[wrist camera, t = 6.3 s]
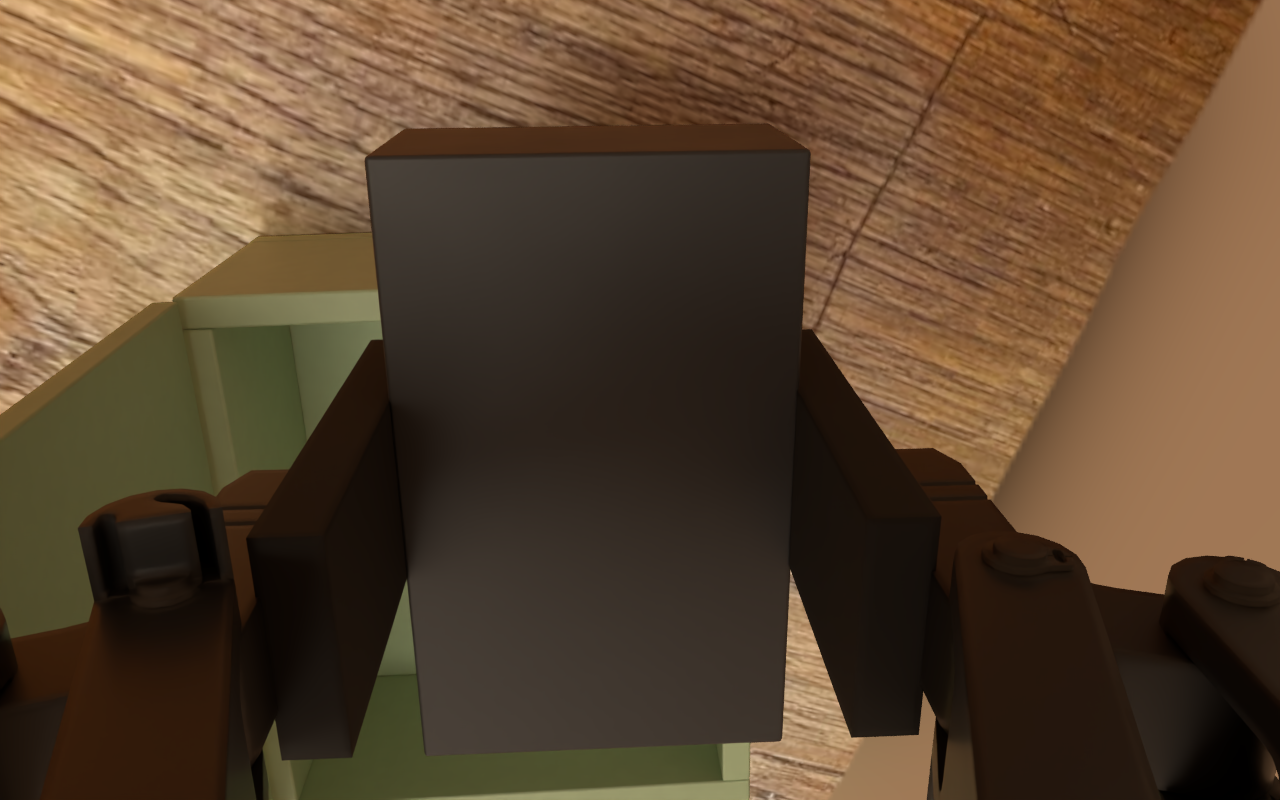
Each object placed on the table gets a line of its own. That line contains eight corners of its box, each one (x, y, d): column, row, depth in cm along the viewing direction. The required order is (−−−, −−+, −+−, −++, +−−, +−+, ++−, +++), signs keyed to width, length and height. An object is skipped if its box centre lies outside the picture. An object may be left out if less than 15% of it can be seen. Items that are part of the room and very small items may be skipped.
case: (721, 219, 31) (756, 274, 25) (721, 663, 36) (749, 802, 30) (256, 236, 30) (170, 297, 24) (328, 684, 36) (273, 830, 30)
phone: (770, 123, 16) (811, 148, 13) (753, 633, 19) (782, 743, 16) (402, 128, 15) (362, 156, 13) (447, 644, 19) (423, 758, 16)
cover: (-314, 686, 10) (-379, 690, 10) (46, 1541, 16) (6, 1546, 16) (178, 301, 24) (151, 301, 24) (280, 838, 29) (259, 839, 29)
